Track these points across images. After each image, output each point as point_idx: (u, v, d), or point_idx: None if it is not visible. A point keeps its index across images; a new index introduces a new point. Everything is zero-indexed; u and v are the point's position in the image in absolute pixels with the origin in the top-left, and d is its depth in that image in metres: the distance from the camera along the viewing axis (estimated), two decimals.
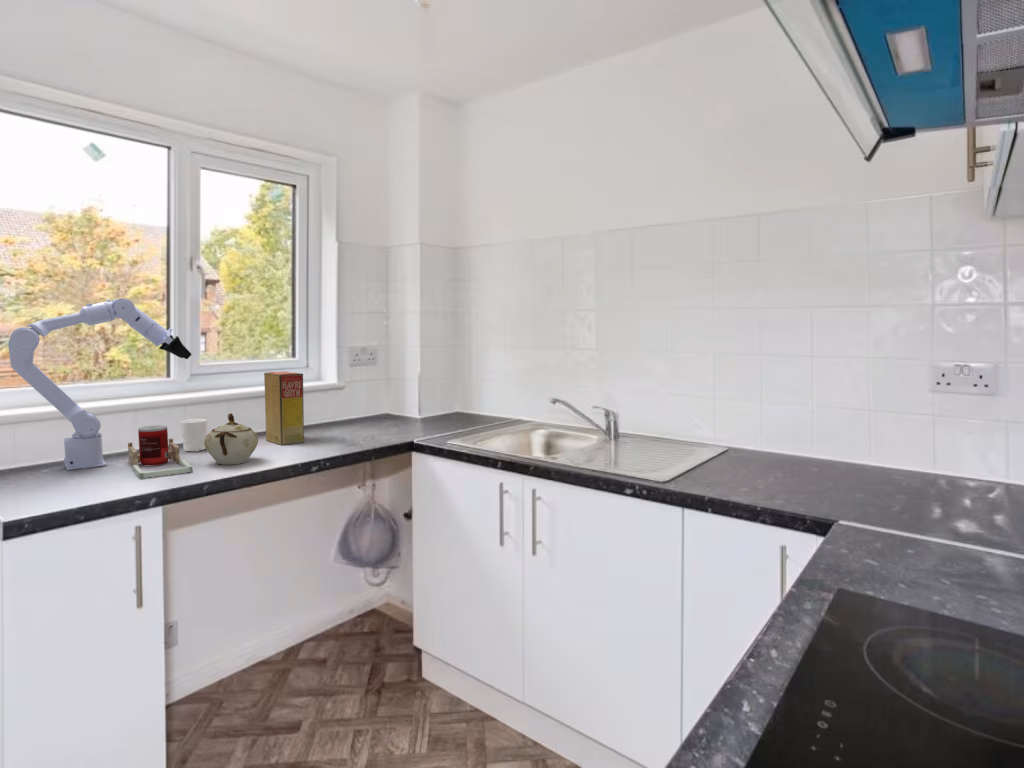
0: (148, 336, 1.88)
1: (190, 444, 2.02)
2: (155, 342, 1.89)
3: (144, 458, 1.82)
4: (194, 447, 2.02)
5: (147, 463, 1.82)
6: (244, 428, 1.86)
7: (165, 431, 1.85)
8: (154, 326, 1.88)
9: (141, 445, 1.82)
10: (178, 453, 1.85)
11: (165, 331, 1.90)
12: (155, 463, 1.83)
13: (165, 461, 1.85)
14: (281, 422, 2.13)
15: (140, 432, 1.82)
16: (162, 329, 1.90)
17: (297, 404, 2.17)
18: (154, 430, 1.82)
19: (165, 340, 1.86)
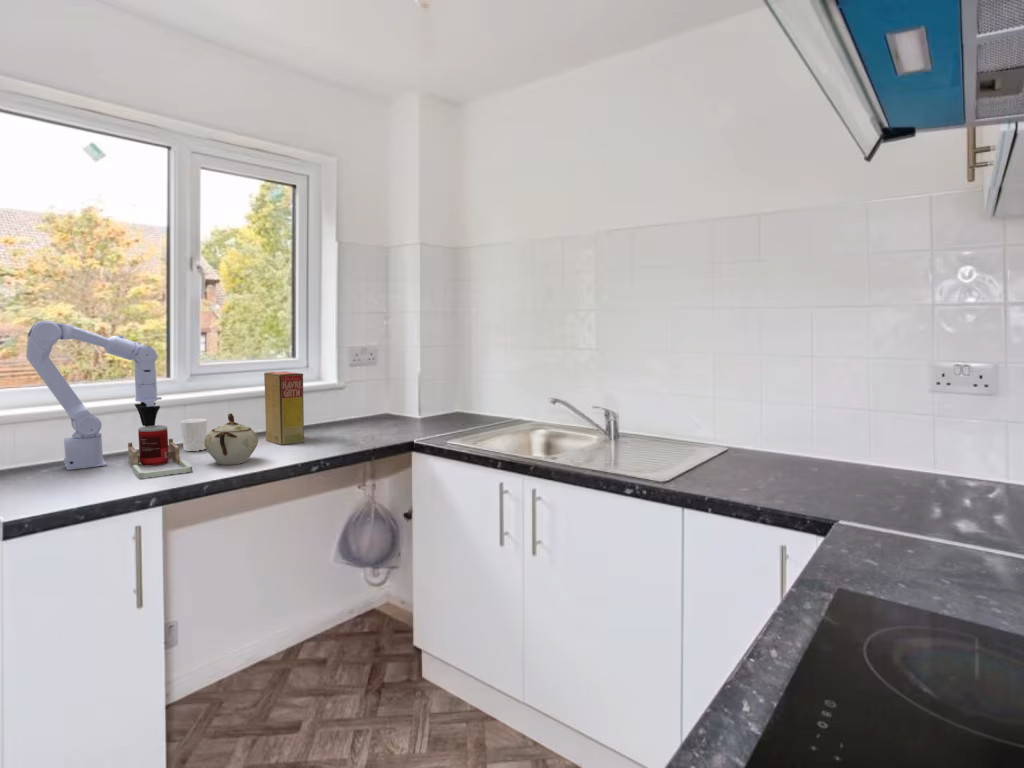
0: (138, 389, 1.88)
1: (190, 444, 2.02)
2: (138, 397, 1.88)
3: (144, 458, 1.82)
4: (194, 447, 2.02)
5: (147, 463, 1.82)
6: (244, 428, 1.86)
7: (165, 431, 1.85)
8: (151, 385, 1.90)
9: (141, 445, 1.82)
10: (178, 453, 1.85)
11: (155, 396, 1.91)
12: (155, 463, 1.83)
13: (165, 461, 1.85)
14: (281, 422, 2.13)
15: (140, 432, 1.82)
16: (154, 392, 1.91)
17: (297, 404, 2.17)
18: (154, 430, 1.82)
19: (148, 401, 1.85)
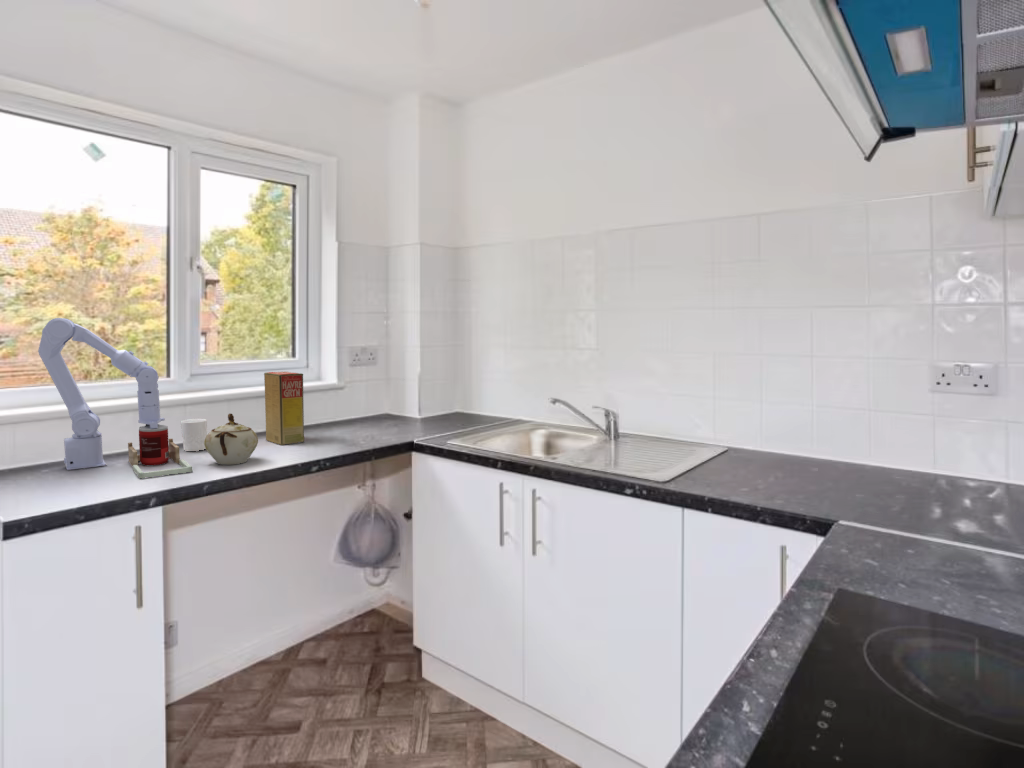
0: (141, 410, 1.86)
1: (190, 444, 2.02)
2: (141, 419, 1.87)
3: (144, 458, 1.82)
4: (194, 447, 2.02)
5: (147, 463, 1.82)
6: (244, 428, 1.86)
7: (166, 431, 1.85)
8: (154, 407, 1.88)
9: (141, 445, 1.82)
10: (178, 453, 1.85)
11: (158, 417, 1.89)
12: (155, 463, 1.83)
13: (165, 461, 1.85)
14: (281, 422, 2.13)
15: (141, 432, 1.81)
16: (157, 414, 1.89)
17: (297, 404, 2.17)
18: (155, 430, 1.82)
19: (151, 423, 1.83)
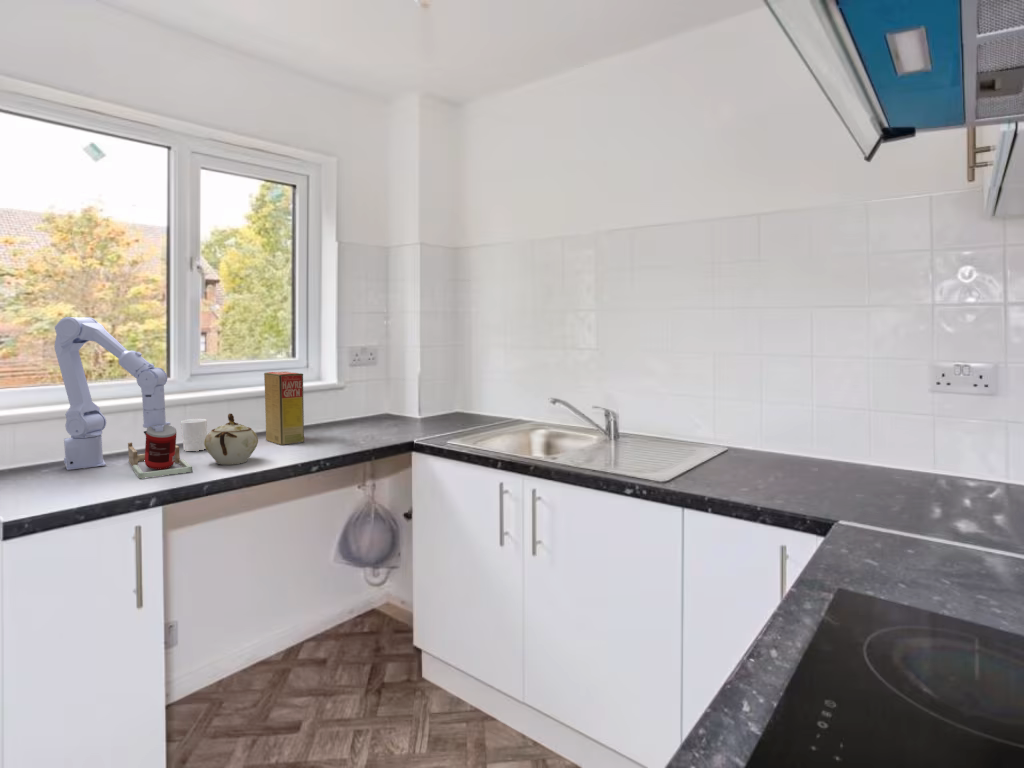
0: (146, 414, 1.79)
1: (190, 444, 2.02)
2: (146, 423, 1.79)
3: (151, 461, 1.75)
4: (194, 447, 2.02)
5: (154, 467, 1.76)
6: (244, 428, 1.86)
7: (175, 435, 1.78)
8: (160, 411, 1.80)
9: (149, 449, 1.75)
10: (178, 453, 1.85)
11: (163, 421, 1.81)
12: (162, 467, 1.77)
13: (172, 464, 1.80)
14: (281, 422, 2.13)
15: (149, 436, 1.74)
16: (163, 418, 1.81)
17: (297, 404, 2.17)
18: (165, 436, 1.74)
19: (156, 428, 1.76)
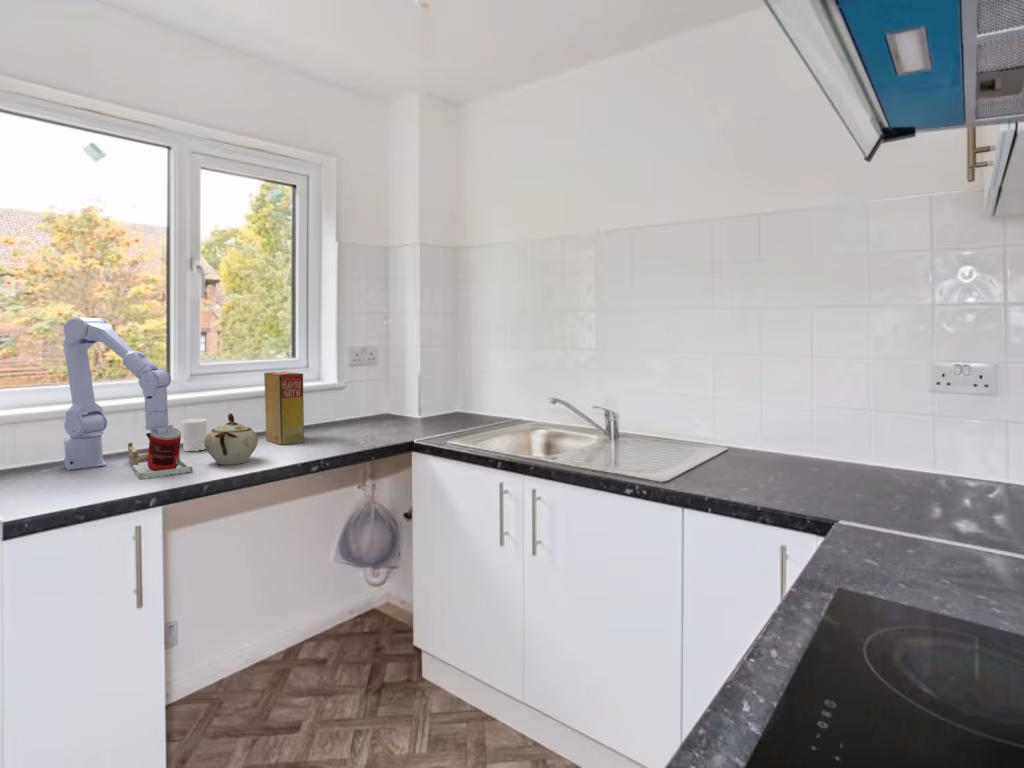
0: (149, 416, 1.75)
1: (190, 444, 2.02)
2: (148, 425, 1.76)
3: (155, 464, 1.72)
4: (194, 447, 2.02)
5: (158, 470, 1.73)
6: (244, 428, 1.86)
7: (180, 437, 1.75)
8: (162, 413, 1.77)
9: (153, 451, 1.71)
10: None
11: (166, 423, 1.78)
12: None
13: (175, 467, 1.76)
14: (281, 422, 2.13)
15: (154, 438, 1.70)
16: (166, 420, 1.78)
17: (298, 404, 2.17)
18: (170, 438, 1.71)
19: (159, 430, 1.72)
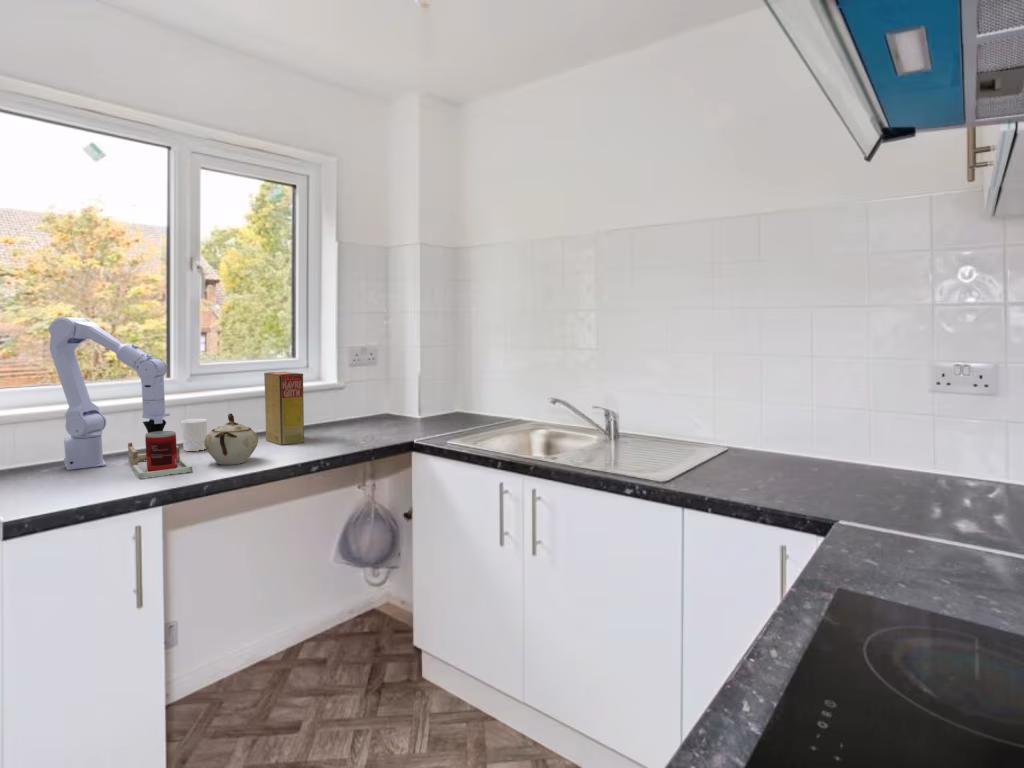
0: (146, 405, 1.78)
1: (190, 444, 2.02)
2: (145, 413, 1.79)
3: (154, 465, 1.72)
4: (194, 447, 2.02)
5: None
6: (244, 428, 1.86)
7: (175, 436, 1.76)
8: (159, 401, 1.80)
9: (150, 452, 1.72)
10: (178, 453, 1.85)
11: (163, 412, 1.81)
12: None
13: None
14: (281, 422, 2.13)
15: (149, 438, 1.72)
16: (162, 408, 1.81)
17: (298, 404, 2.17)
18: (165, 436, 1.73)
19: (156, 418, 1.75)
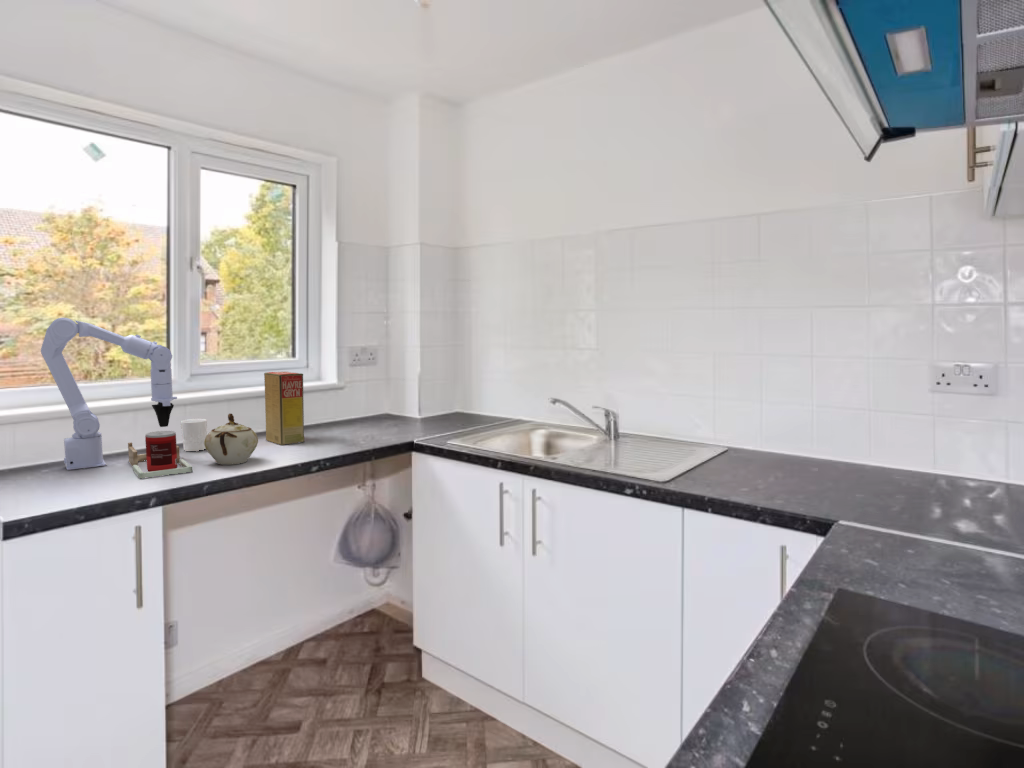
0: (154, 388, 1.89)
1: (190, 444, 2.02)
2: (154, 397, 1.89)
3: (154, 465, 1.72)
4: (194, 447, 2.02)
5: None
6: (244, 428, 1.86)
7: (175, 436, 1.76)
8: (167, 385, 1.90)
9: (150, 452, 1.72)
10: (178, 453, 1.85)
11: (170, 395, 1.92)
12: None
13: None
14: (281, 422, 2.13)
15: (149, 438, 1.72)
16: (170, 392, 1.92)
17: (298, 404, 2.17)
18: (165, 436, 1.73)
19: (164, 401, 1.86)
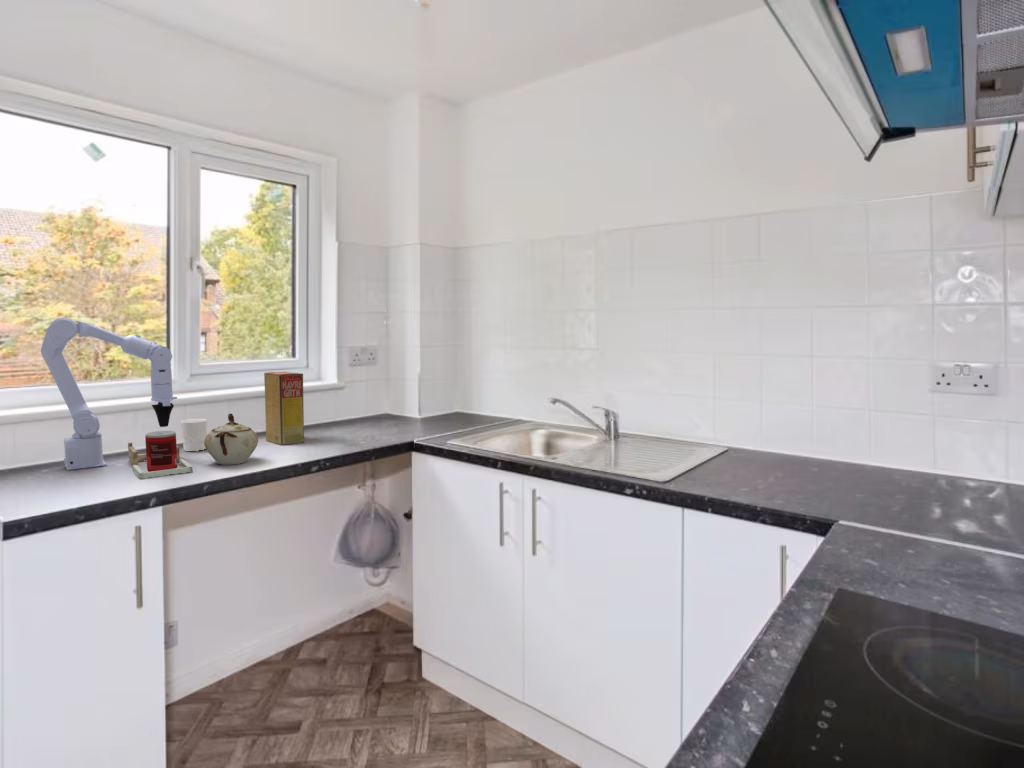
0: (154, 388, 1.89)
1: (190, 444, 2.02)
2: (154, 397, 1.89)
3: (154, 465, 1.72)
4: (194, 447, 2.02)
5: None
6: (244, 428, 1.86)
7: (175, 436, 1.76)
8: (167, 385, 1.90)
9: (150, 452, 1.72)
10: (178, 453, 1.85)
11: (170, 395, 1.92)
12: None
13: None
14: (281, 422, 2.13)
15: (149, 438, 1.72)
16: (170, 392, 1.92)
17: (297, 404, 2.17)
18: (165, 436, 1.73)
19: (164, 401, 1.86)
